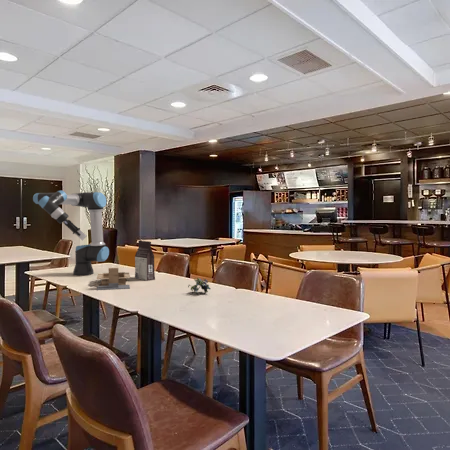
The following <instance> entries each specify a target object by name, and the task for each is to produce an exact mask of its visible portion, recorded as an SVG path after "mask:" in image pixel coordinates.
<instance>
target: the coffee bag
mask: <svg viewBox="0 0 450 450" xmlns="http://www.w3.org/2000/svg"><path fill="white" fill-rule="evenodd" d="M151 248H152V242H151V241H146V240H138V248H137V251H136V252H135V255H134V267H135V268H134V279H138V280H139V279H140V280H142V281H146V282H148V281H154V280H156V276H155V275H156V273H155V254H154V252H153V250H152V249H151Z"/></svg>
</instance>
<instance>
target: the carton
mask: <svg viewBox="0 0 450 450" xmlns="http://www.w3.org/2000/svg"><path fill="white" fill-rule="evenodd" d="M130 278H131V275H130V272H124V271H122V272H119V271H118V285H127V284H126V283H127V281H126V280H127V279H130ZM96 280H101V281H100V282H101V285H100V286H109V272H102V273H97V276H96Z"/></svg>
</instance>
